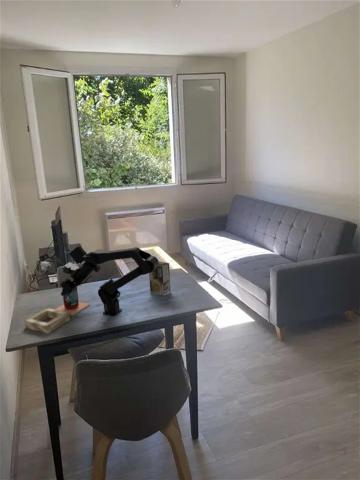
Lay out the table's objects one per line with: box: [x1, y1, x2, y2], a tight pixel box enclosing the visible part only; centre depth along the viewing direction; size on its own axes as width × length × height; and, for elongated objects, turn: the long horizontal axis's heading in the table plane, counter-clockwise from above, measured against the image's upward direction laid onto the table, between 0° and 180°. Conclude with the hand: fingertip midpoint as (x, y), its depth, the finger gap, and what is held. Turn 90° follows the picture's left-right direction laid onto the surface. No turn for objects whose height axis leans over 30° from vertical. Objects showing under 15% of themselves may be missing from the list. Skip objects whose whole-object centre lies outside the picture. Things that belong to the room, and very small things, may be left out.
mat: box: [54, 301, 91, 317], centre depth 172 cm, size 12×12×1 cm
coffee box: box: [148, 261, 171, 296], centre depth 184 cm, size 9×6×16 cm
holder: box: [24, 307, 71, 335], centre depth 158 cm, size 13×13×4 cm
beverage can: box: [61, 283, 80, 309], centre depth 170 cm, size 7×7×12 cm
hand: (67, 291), depth 170 cm, fingers open, 9 cm apart
